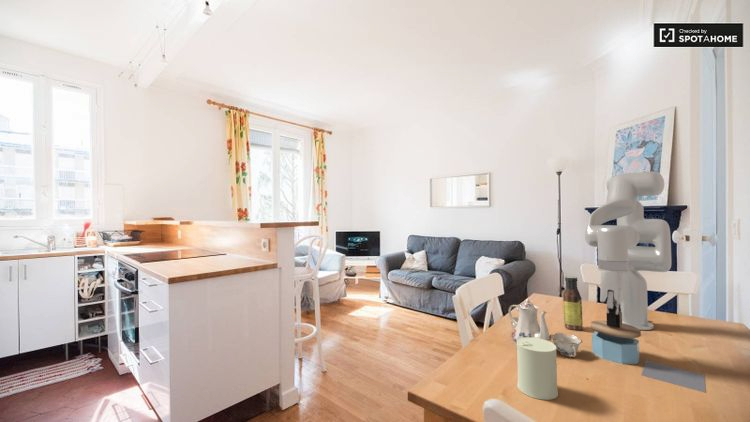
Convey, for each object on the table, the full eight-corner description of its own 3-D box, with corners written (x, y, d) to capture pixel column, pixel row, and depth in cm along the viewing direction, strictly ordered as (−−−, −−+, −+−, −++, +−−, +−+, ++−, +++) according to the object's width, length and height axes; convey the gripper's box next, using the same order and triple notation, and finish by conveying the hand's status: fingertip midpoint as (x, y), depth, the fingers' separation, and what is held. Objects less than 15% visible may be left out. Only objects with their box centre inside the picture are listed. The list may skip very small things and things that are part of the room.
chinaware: (592, 363, 96) (595, 309, 97) (555, 368, 90) (558, 310, 91) (519, 332, 122) (521, 290, 123) (486, 334, 116) (489, 289, 117)
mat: (645, 362, 93) (645, 360, 93) (704, 376, 84) (704, 374, 84) (641, 377, 84) (641, 374, 84) (705, 394, 76) (705, 392, 76)
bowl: (597, 346, 104) (597, 328, 104) (640, 357, 96) (640, 337, 96) (590, 357, 96) (589, 337, 96) (636, 369, 88) (635, 348, 88)
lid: (594, 320, 105) (594, 303, 105) (643, 330, 96) (642, 310, 96) (586, 330, 96) (585, 311, 96) (638, 341, 88) (637, 320, 88)
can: (510, 380, 83) (509, 335, 83) (542, 379, 84) (541, 334, 84) (530, 401, 74) (529, 350, 74) (566, 398, 75) (565, 348, 75)
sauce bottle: (585, 331, 118) (584, 279, 118) (567, 330, 119) (566, 278, 119) (578, 325, 124) (576, 275, 125) (561, 324, 125) (559, 275, 126)
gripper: (603, 262, 105) (604, 316, 105) (592, 267, 94) (594, 328, 93) (631, 264, 100) (633, 321, 99) (624, 270, 88) (625, 335, 88)
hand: (614, 324), depth 96 cm, fingers closed on lid, 3 cm apart
